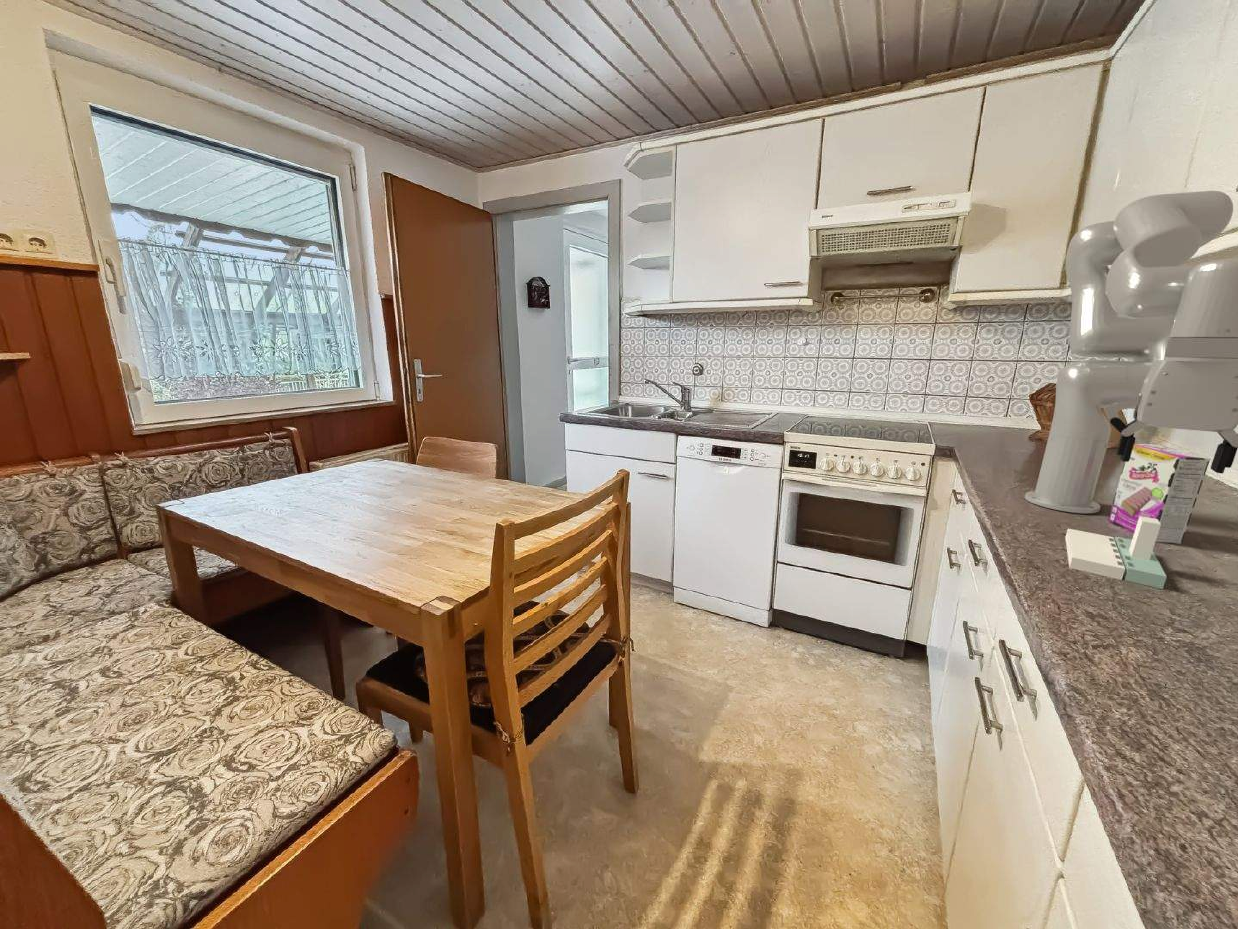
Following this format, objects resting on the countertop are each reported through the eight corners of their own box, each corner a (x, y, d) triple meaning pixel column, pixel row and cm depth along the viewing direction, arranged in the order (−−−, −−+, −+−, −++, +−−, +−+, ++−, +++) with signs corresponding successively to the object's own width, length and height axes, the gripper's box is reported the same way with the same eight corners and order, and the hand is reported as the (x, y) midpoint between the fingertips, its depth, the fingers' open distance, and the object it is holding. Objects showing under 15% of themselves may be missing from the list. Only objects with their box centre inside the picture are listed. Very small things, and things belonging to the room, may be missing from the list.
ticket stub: (1112, 547, 86) (1125, 504, 84) (1144, 553, 84) (1158, 510, 82) (1124, 580, 74) (1139, 531, 72) (1162, 589, 72) (1179, 539, 70)
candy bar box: (1104, 521, 99) (1127, 442, 95) (1133, 523, 98) (1158, 444, 94) (1150, 543, 89) (1178, 456, 84) (1183, 545, 88) (1213, 457, 83)
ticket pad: (1065, 538, 90) (1067, 528, 90) (1110, 547, 86) (1113, 536, 86) (1069, 568, 78) (1072, 556, 78) (1121, 580, 75) (1125, 568, 74)
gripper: (1291, 352, 67) (1249, 471, 72) (1116, 349, 78) (1089, 452, 82) (1314, 353, 62) (1267, 481, 66) (1123, 349, 73) (1093, 460, 77)
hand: (1168, 465), depth 74 cm, fingers open, 9 cm apart
